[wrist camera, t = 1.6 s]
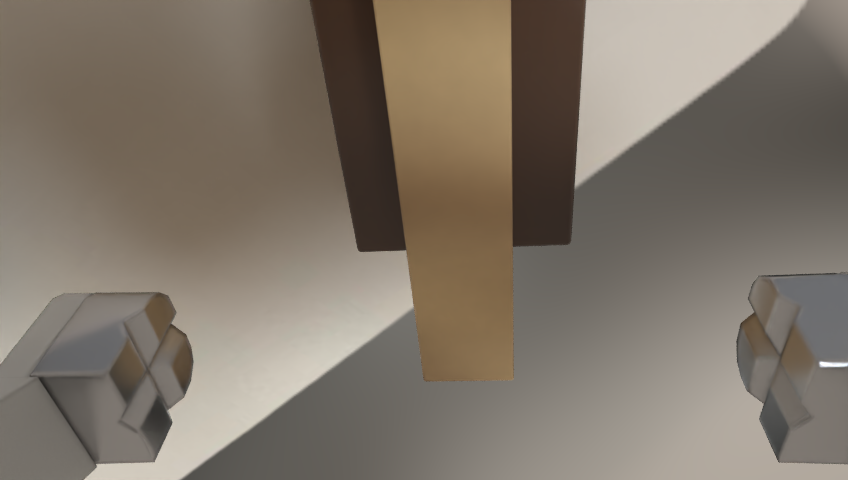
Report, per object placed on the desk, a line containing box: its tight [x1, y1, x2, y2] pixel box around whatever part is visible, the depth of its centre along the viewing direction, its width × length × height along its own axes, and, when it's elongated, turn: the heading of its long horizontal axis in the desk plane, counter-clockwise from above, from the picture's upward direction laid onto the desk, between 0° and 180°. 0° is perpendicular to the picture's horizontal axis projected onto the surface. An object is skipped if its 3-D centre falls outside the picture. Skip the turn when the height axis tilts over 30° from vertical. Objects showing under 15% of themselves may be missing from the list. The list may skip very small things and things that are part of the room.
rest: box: [310, 0, 586, 252], centre depth 18 cm, size 6×5×12 cm
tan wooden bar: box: [373, 0, 514, 381], centre depth 13 cm, size 12×2×1 cm, turn 5°
